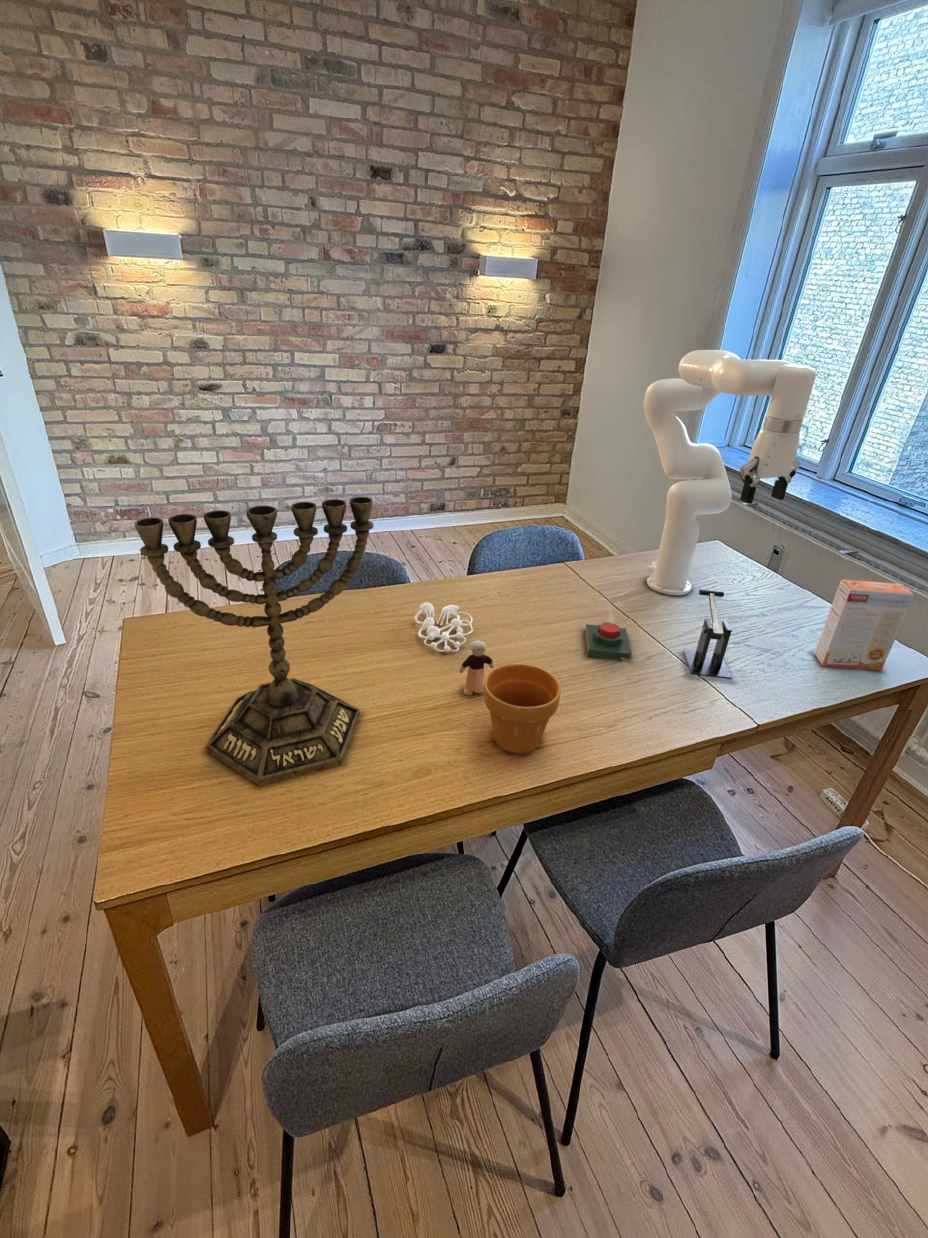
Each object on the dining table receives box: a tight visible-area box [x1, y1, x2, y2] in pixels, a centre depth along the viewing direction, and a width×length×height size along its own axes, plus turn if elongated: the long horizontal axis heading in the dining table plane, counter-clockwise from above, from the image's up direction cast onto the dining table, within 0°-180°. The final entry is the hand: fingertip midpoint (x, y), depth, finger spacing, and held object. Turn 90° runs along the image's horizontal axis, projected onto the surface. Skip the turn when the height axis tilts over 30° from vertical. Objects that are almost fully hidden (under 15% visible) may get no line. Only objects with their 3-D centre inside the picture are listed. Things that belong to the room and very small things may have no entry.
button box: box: [584, 624, 632, 661], centre depth 156 cm, size 12×10×4 cm
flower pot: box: [483, 663, 562, 754], centre depth 122 cm, size 14×14×13 cm
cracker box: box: [813, 579, 915, 672], centre depth 150 cm, size 14×6×21 cm, turn 84°
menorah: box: [133, 496, 374, 787], centre depth 112 cm, size 36×25×45 cm
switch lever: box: [698, 589, 725, 640], centre depth 148 cm, size 13×6×2 cm, turn 174°
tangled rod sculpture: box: [414, 602, 474, 654], centre depth 157 cm, size 19×14×4 cm
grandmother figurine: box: [458, 639, 495, 697], centre depth 135 cm, size 8×4×13 cm, turn 118°
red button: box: [599, 622, 621, 638], centre depth 154 cm, size 5×5×2 cm
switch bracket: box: [683, 618, 733, 680], centre depth 147 cm, size 10×9×12 cm
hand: (761, 500), depth 150 cm, fingers open, 9 cm apart
